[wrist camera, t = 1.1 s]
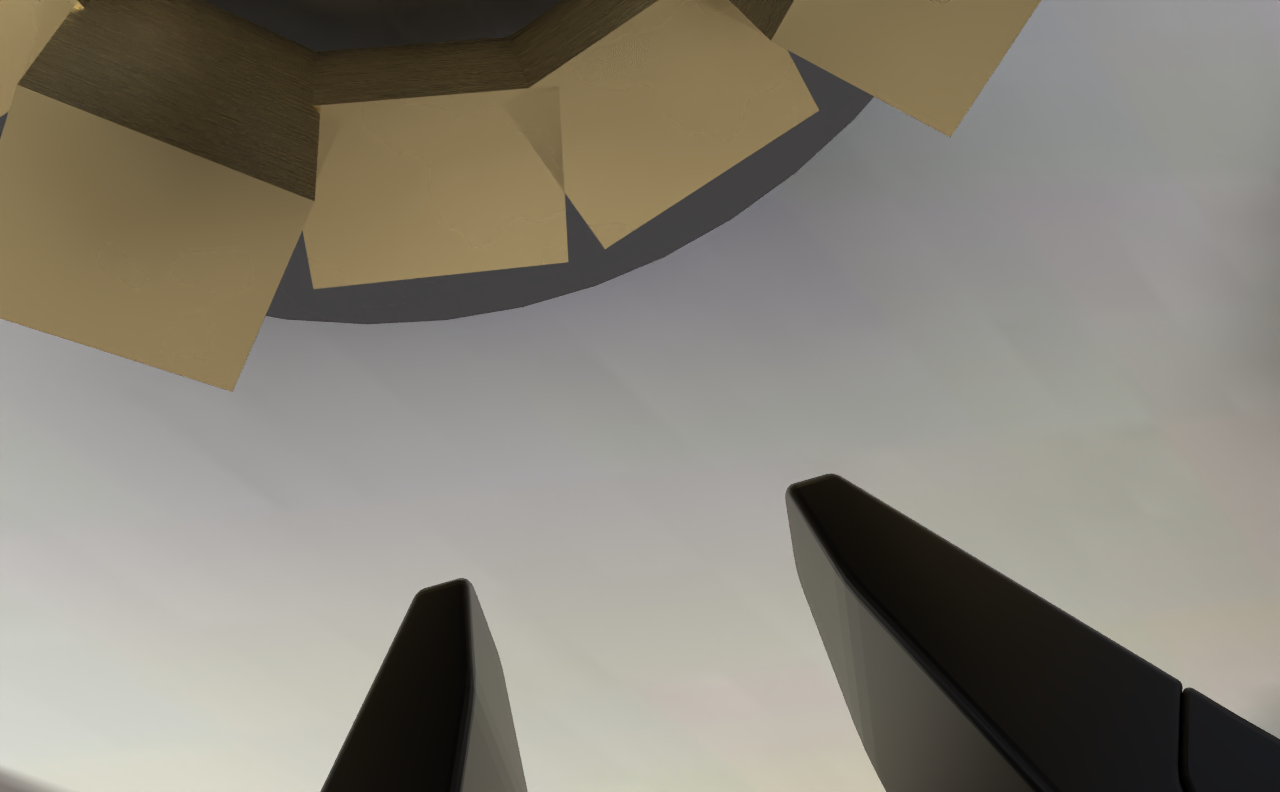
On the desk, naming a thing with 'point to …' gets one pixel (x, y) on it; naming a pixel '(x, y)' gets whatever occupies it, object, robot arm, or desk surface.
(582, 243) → the cap plate
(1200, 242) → the desk surface
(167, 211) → the ring nut
